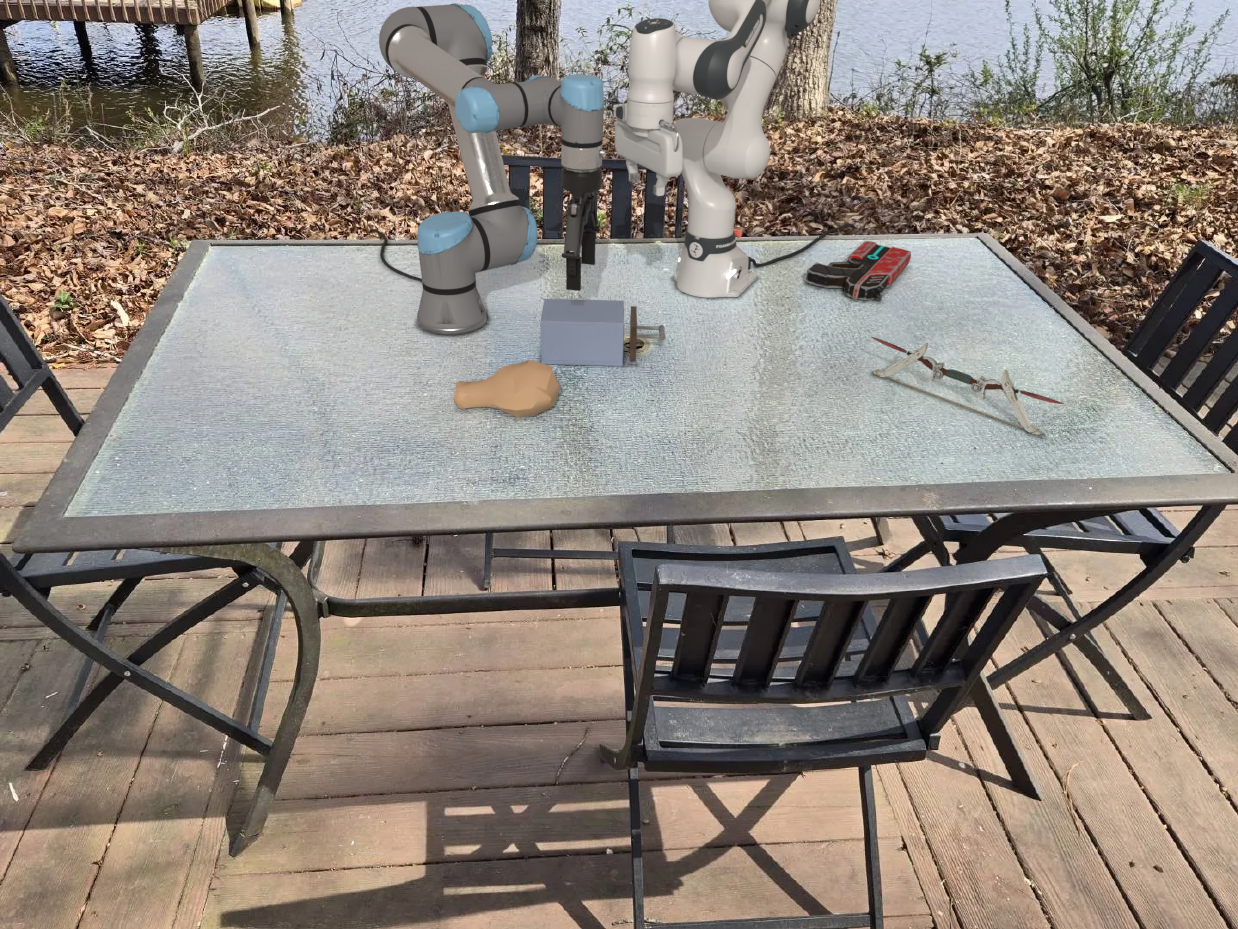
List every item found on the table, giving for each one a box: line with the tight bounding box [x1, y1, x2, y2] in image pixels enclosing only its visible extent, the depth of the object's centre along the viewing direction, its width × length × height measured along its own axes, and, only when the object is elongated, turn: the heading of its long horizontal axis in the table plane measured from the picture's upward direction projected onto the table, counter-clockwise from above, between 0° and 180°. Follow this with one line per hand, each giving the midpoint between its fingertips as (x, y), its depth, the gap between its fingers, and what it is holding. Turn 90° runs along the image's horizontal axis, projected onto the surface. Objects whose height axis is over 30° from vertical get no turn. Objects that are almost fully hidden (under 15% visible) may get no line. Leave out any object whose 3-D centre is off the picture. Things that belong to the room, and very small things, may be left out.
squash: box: [453, 359, 561, 418], centre depth 163 cm, size 11×20×9 cm, turn 90°
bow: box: [870, 336, 1065, 436], centre depth 169 cm, size 39×2×10 cm, turn 47°
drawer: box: [623, 305, 666, 362], centre depth 183 cm, size 22×10×8 cm, turn 90°
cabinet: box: [540, 298, 625, 367], centre depth 183 cm, size 17×11×10 cm
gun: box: [805, 240, 912, 302], centre depth 224 cm, size 4×31×19 cm
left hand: (581, 276), depth 173 cm, fingers open, 13 cm apart
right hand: (646, 188), depth 174 cm, fingers open, 8 cm apart
